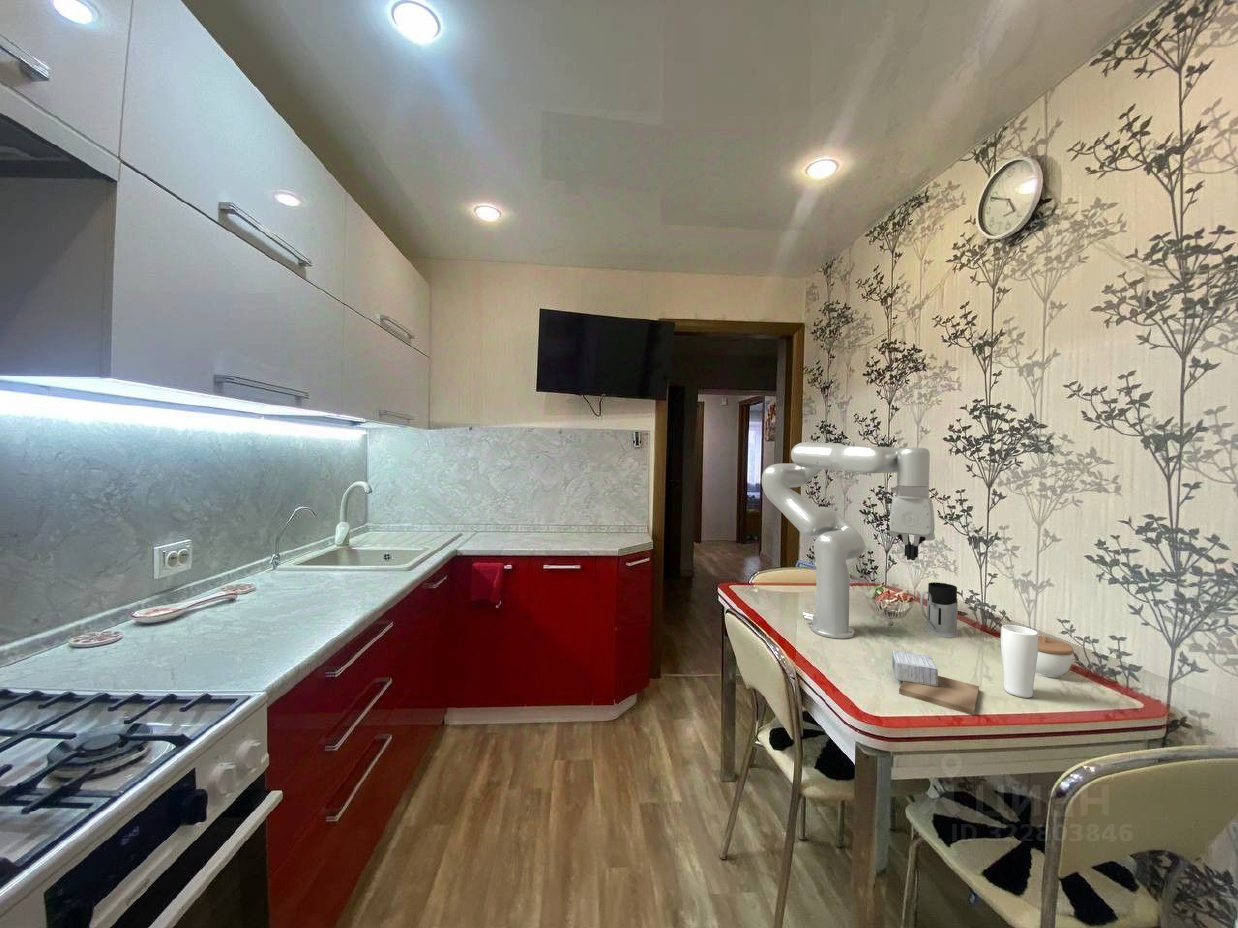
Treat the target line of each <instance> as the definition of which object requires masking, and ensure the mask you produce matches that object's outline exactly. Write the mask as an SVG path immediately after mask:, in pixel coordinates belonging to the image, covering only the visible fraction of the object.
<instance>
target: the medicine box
mask: <svg viewBox="0 0 1238 928" xmlns="http://www.w3.org/2000/svg"><path fill="white" fill-rule="evenodd" d="M891 655H892V656H891V668H892V670H893V675H894V679H896V680H897V681H901V682H903V681H907V682H913V683H919V684H925V685H931V686H938V676H939V673H938V672H939V671H938V668H937V665H936V664H935V661H934V660H933V658H932V656H930V655H925V654H918V653H911V652H904V651H899V650H892V654H891Z"/></svg>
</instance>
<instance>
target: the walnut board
mask: <svg viewBox="0 0 1238 928" xmlns="http://www.w3.org/2000/svg"><path fill="white" fill-rule="evenodd" d="M901 682H902V683H901V685H900V686H899V688H898V694H899V695H903V696H906V697H910V698H912V699H913V698H914V699H917V700H920V701H924V702H926V703H931V704H933V705H937V706H941V707H943V708H947V709H951V710H953V711H958V712H961V713H965V714H968V715H971V716H975V713H976V708H977V704H978V703H977V702H978V697H979V693H980V686H979V685H976V684H973V683H968V682H964V681H961V680H956V679H953V678H949V677H945V676H941V675H938V686H931V685H925V684H919V683H913V682H907V681H901Z"/></svg>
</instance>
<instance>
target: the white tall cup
mask: <svg viewBox="0 0 1238 928" xmlns="http://www.w3.org/2000/svg"><path fill="white" fill-rule="evenodd" d="M1038 636H1039V633H1038V631H1037V630H1034V629H1032V628H1029V627H1025V626H1021V625H1014V624H1004V625H1003V624H1002V625H1001V629H1000V654H1001V665H1002V667H1001V668H1002V681H1003V683H1002V687H1003V690H1004V691H1005V692H1007V693H1008V694H1009V695H1011V696H1014V697H1017V698H1024V699H1030V698H1032V697H1033V696H1034V684H1035V677H1036V674H1035V671H1036V664H1037V657H1038V645H1039V641H1038Z"/></svg>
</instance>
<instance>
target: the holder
mask: <svg viewBox="0 0 1238 928" xmlns="http://www.w3.org/2000/svg"><path fill="white" fill-rule="evenodd" d="M927 585H928V587H927V590H928V591H923V592H922V593H921V595H920V598H919V605H920V611H921V613H922V616H923V617H924V618H925V620H926V627H925V628H924V631H925V633H927V634H929V635H931V636H935V637H939V638H944V639H956V638H959V633H958V587H957V585H956V586H955V585H954V584H949V583H944V582H937V581H936V582H934V581H933V582H928V583H927ZM926 594H927V599H926V600H927V605H926V613H925V610H924V596H925V595H926Z"/></svg>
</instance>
